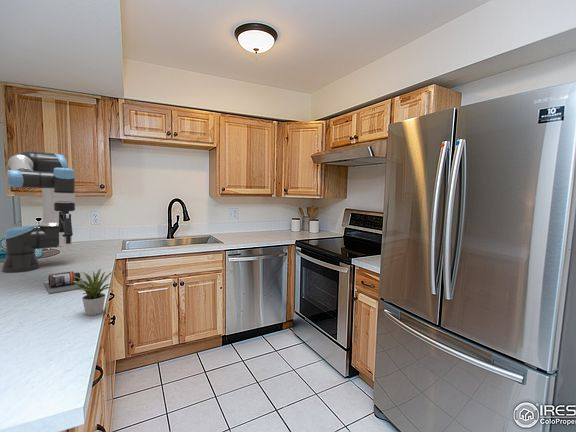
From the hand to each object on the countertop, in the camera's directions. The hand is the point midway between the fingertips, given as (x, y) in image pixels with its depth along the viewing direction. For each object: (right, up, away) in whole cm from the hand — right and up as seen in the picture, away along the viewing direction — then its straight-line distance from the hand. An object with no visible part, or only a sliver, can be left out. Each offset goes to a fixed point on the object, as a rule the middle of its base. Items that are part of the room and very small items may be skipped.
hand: (65, 248), depth 132 cm
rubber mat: (-1, -18, +1) cm, 18 cm away
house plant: (+31, -21, -25) cm, 45 cm away
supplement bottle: (-5, -14, -4) cm, 16 cm away
